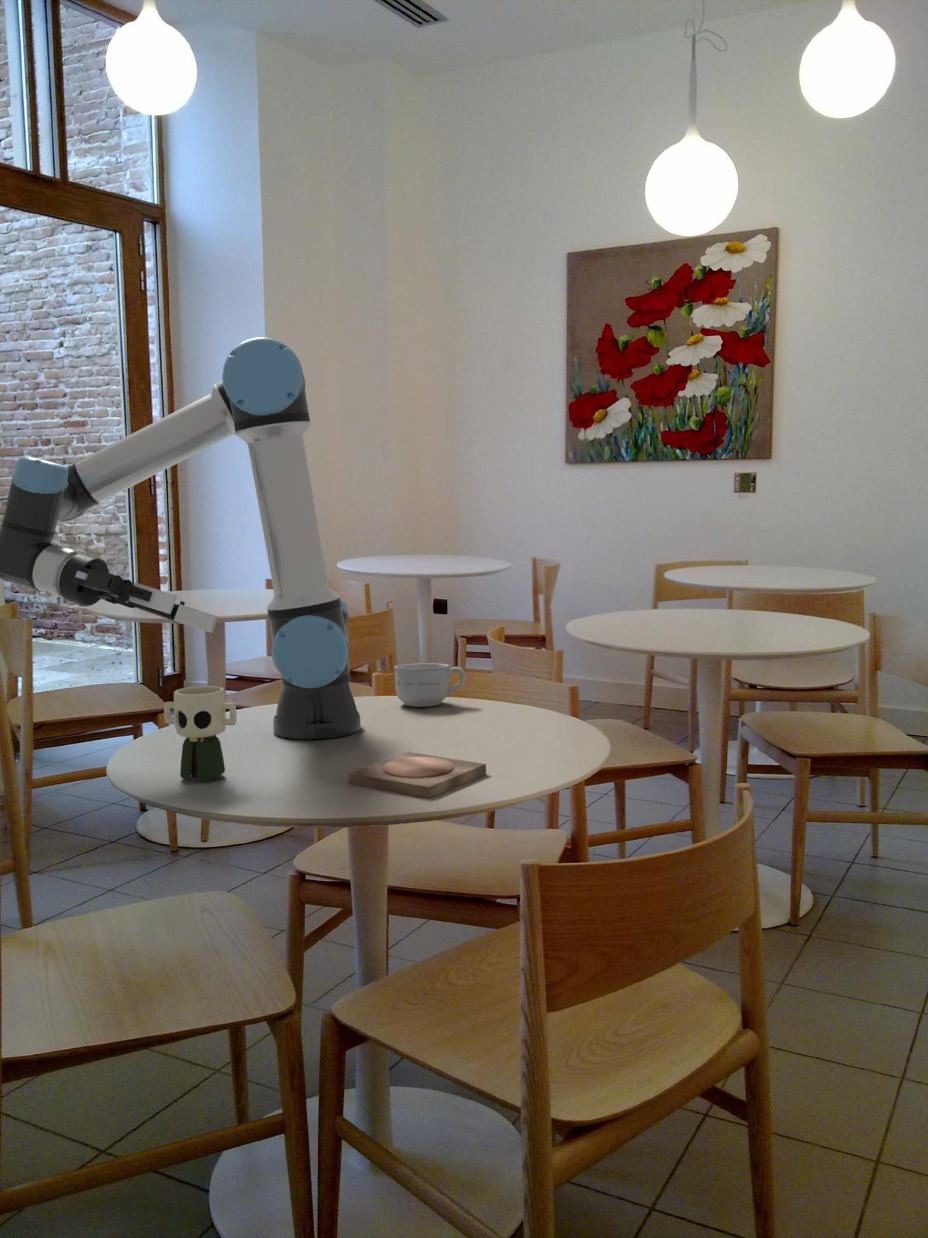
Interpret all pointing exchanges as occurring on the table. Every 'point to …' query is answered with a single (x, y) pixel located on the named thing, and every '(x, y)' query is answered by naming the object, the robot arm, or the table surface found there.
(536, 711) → the table surface
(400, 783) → the walnut board
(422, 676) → the teacup
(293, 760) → the table surface
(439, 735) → the table surface
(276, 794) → the table surface
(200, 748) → the character mug
